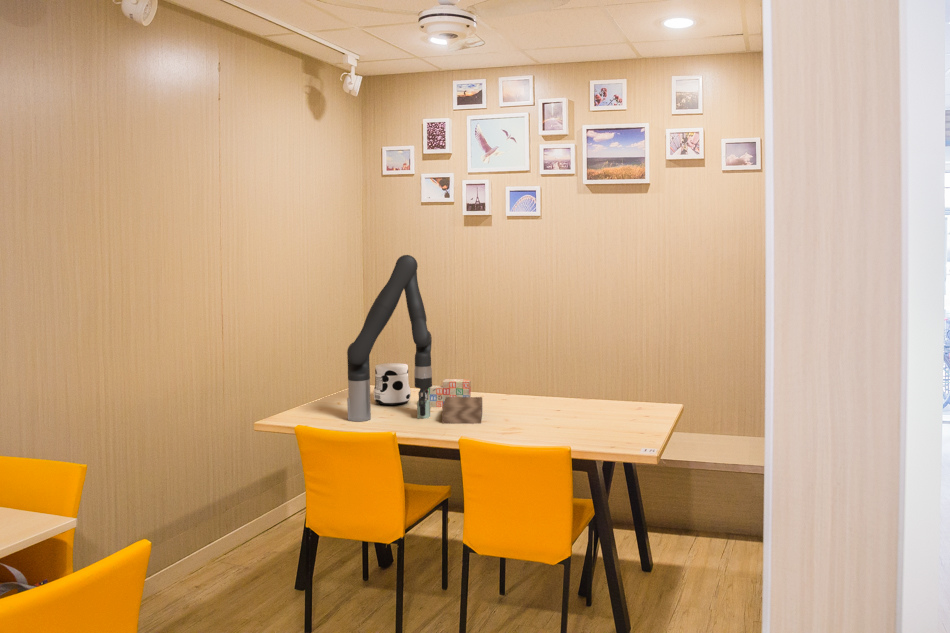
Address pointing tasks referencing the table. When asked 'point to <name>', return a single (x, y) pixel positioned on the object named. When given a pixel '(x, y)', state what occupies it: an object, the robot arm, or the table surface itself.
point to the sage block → (427, 410)
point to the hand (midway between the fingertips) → (423, 413)
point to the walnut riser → (462, 410)
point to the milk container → (391, 384)
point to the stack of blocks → (448, 391)
